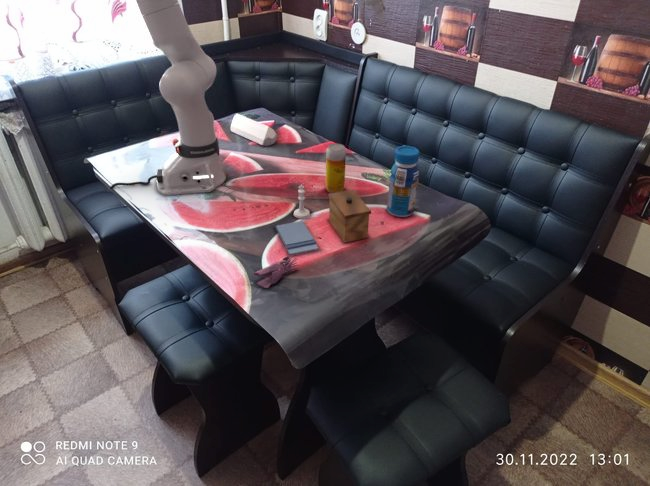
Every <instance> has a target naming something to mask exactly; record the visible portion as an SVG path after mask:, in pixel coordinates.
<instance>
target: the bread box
mask: <svg viewBox="0 0 650 486" xmlns="http://www.w3.org/2000/svg"><path fill="white" fill-rule="evenodd" d="M327 195H328V198H329V205H328V206H329V210H328V211H329V212H328V214H329V217H328V221H329V223H330V224H331V226H332V227H333V229H334V230H335V231H336V233H337V234H338V235H339V237H340V238H341V240H342V241H343V243H349V242H354V241H359V240H363V239H368V236H369V222H370V215H371V214H372V209H370V208H369V207H368V205H367V204H366V203H365V202H364V201H363V200H362V198H361V197H360V196H359V195H358V193H356V191H355V190H354V189H348V190H343V191H341V192H336V193H330V192H329V193H328V194H327Z"/></svg>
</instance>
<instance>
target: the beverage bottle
mask: <svg viewBox="0 0 650 486" xmlns="http://www.w3.org/2000/svg"><path fill="white" fill-rule="evenodd" d="M419 158H420V150H419V149H418V148H417V147H414V146H411V145H400V146H397V147H396V148H395V150H394V163H393V165H392V167H391V168H390V176H389V178H388V179H389V180H388V181H389V185H388V194H387V205H386V210H387V212H388V213H389V215H392V216H394V217H397V218H407V217H410V216H412V215H413V213H414V212H415V204H416V199H417V191H418V185H419V176H420V169H419V167H418V162H419Z"/></svg>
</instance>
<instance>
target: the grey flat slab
mask: <svg viewBox="0 0 650 486" xmlns="http://www.w3.org/2000/svg"><path fill="white" fill-rule="evenodd" d="M275 230H276V232H277V234H278V236H279V238H280V240H281V242H282V243H283V245H284V247H285V250H286V251H287V254H288V256H289V257H294V256H298V255H303V254H308V253H313V252H317V251H319V246H318V245H317V241H316V240H315V237H313V235H312V234H311V231H310V230H309V228H308V227H307V225H306V223H305V222H304V220H299V221H293V222H288V223H283V224H278V225H276V226H275Z"/></svg>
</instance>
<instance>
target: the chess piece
mask: <svg viewBox="0 0 650 486" xmlns="http://www.w3.org/2000/svg"><path fill="white" fill-rule="evenodd" d="M297 187H298V190H297V193H298V197H297V199H298V200H299V204H298V205H299V206H298V208H296V209H294V211H293V216H294V217H295V218H296V219H301V220H303V219H307V218H309V217H310V216H311V213H310V210H309V208H308V209H307V208H305V203H304V202H305V201H304V200H306V196H305V192H306V190H305V186H304V185H303V184H300V186H297Z"/></svg>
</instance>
